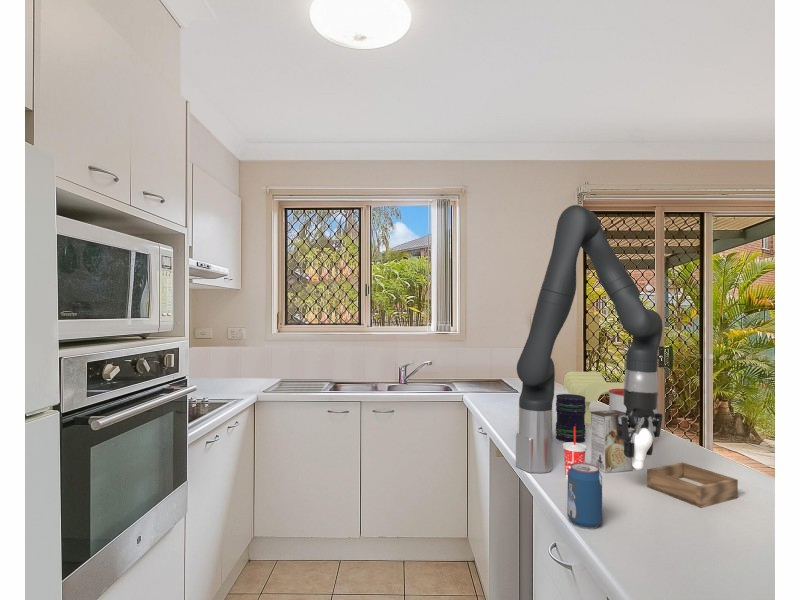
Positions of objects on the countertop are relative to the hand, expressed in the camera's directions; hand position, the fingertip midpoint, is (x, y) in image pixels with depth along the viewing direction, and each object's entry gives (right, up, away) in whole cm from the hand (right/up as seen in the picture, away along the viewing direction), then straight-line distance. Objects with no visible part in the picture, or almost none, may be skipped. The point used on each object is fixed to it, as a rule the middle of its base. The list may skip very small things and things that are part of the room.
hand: (638, 455), depth 120 cm
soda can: (-20, -9, -17) cm, 28 cm away
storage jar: (0, -10, +48) cm, 49 cm away
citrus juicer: (+21, -10, +46) cm, 51 cm away
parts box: (+13, -9, 0) cm, 16 cm away
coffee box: (+1, -10, +18) cm, 20 cm away
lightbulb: (0, -4, 0) cm, 4 cm away
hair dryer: (+20, -11, +78) cm, 81 cm away
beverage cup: (-13, -10, +9) cm, 18 cm away
